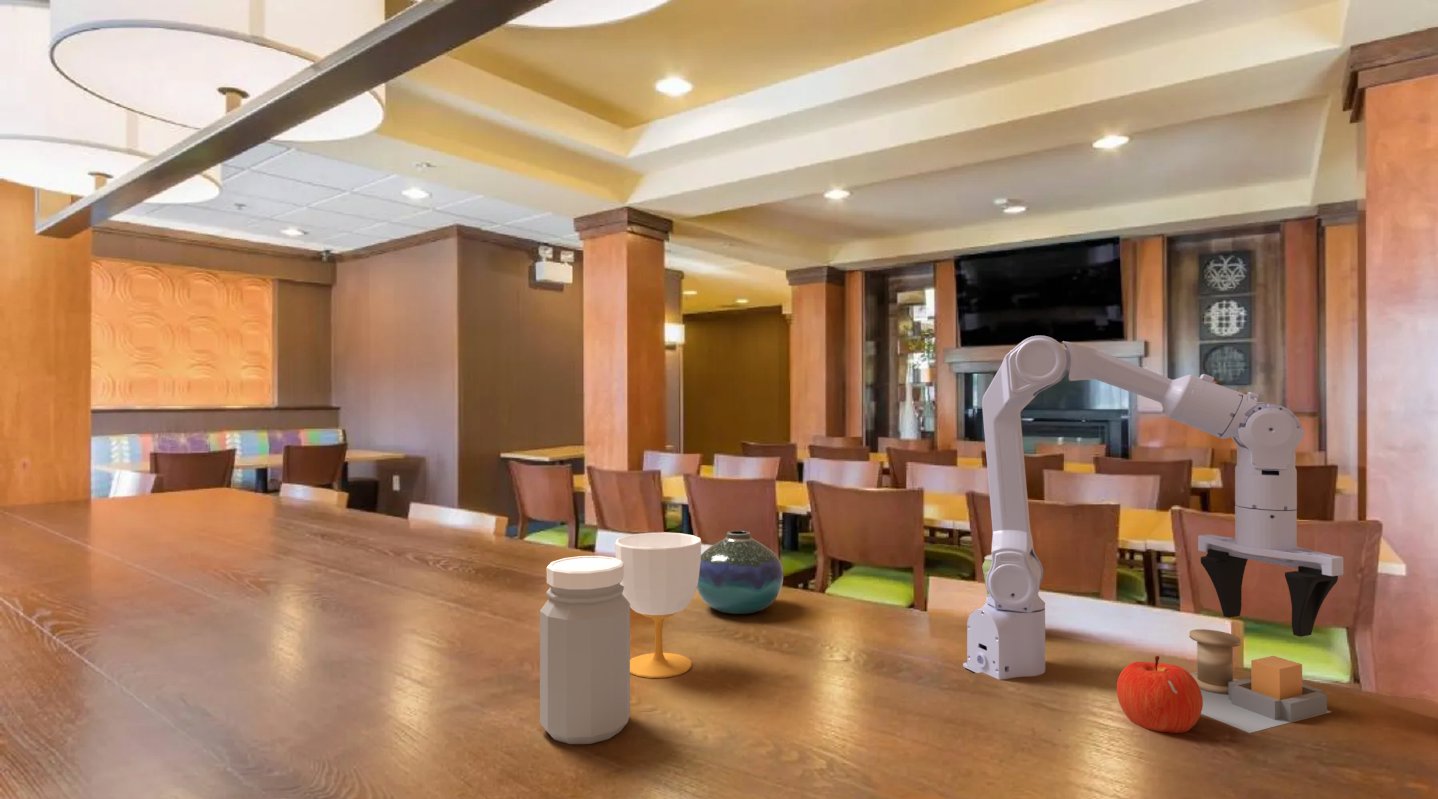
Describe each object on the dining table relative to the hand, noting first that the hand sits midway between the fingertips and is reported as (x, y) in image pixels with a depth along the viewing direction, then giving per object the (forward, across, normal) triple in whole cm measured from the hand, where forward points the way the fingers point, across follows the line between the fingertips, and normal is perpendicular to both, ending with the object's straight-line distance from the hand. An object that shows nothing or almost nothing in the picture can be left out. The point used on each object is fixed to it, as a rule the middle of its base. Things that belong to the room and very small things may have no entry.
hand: (1265, 625), depth 84 cm
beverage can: (+10, +34, +6) cm, 36 cm away
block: (+9, -1, 0) cm, 9 cm away
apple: (+10, +1, +16) cm, 19 cm away
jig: (+10, +3, +3) cm, 10 cm away
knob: (+10, +6, 0) cm, 11 cm away
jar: (+10, +25, +74) cm, 79 cm away
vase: (+10, +61, +40) cm, 74 cm away
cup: (+10, +40, +61) cm, 73 cm away
